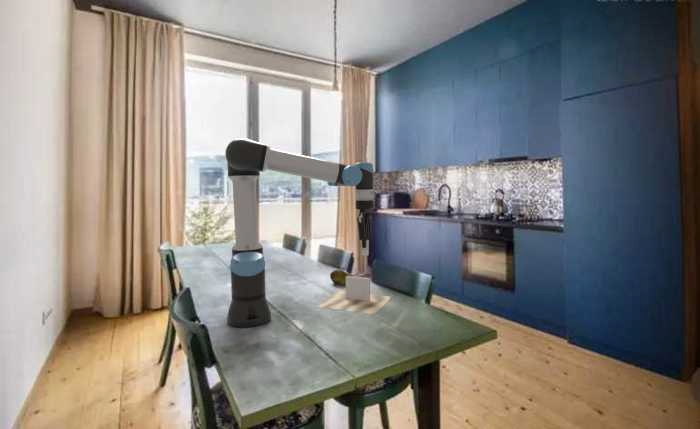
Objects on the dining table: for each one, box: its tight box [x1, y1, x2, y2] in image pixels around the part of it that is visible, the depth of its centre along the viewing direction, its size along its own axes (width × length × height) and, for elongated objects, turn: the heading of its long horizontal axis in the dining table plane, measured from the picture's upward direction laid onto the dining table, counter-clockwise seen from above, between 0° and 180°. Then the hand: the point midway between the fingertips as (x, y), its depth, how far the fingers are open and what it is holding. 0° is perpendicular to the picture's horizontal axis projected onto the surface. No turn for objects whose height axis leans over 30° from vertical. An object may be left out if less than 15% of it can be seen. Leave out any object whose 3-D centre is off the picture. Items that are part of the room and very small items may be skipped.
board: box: [315, 290, 392, 315], centre depth 143 cm, size 24×22×2 cm
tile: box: [345, 275, 371, 301], centre depth 146 cm, size 10×2×9 cm, turn 69°
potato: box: [329, 269, 355, 287], centre depth 169 cm, size 8×13×8 cm, turn 64°
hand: (365, 255), depth 152 cm, fingers closed
